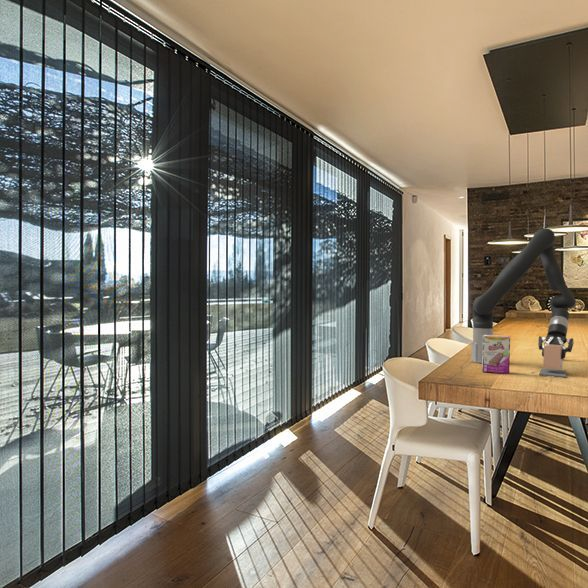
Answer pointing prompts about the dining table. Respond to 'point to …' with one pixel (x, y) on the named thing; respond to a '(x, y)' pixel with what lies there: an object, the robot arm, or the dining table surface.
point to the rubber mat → (553, 372)
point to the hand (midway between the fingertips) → (553, 357)
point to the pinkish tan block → (553, 356)
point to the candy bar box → (496, 354)
